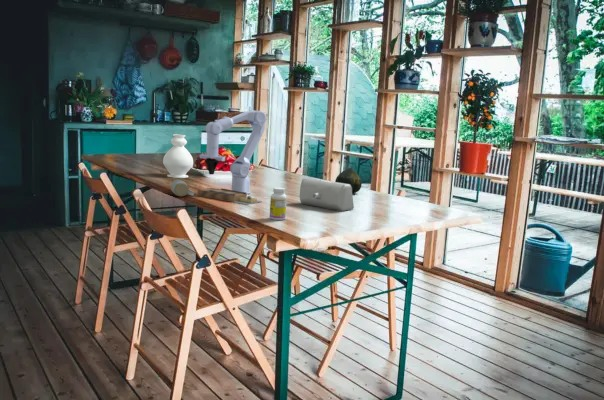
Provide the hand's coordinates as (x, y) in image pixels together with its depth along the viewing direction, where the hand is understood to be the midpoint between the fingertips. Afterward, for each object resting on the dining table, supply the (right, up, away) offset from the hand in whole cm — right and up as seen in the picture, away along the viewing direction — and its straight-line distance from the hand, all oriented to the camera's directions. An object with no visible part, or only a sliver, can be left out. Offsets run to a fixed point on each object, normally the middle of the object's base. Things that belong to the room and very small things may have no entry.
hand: (211, 174), depth 279 cm
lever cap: (+19, -14, -12) cm, 26 cm away
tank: (+55, -17, -12) cm, 59 cm away
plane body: (+6, -12, -4) cm, 14 cm away
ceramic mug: (-13, -11, -6) cm, 18 cm away
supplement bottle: (+35, -21, -47) cm, 62 cm away
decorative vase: (-30, +1, +60) cm, 67 cm away
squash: (+71, -9, +40) cm, 81 cm away
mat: (+19, -14, -12) cm, 27 cm away
